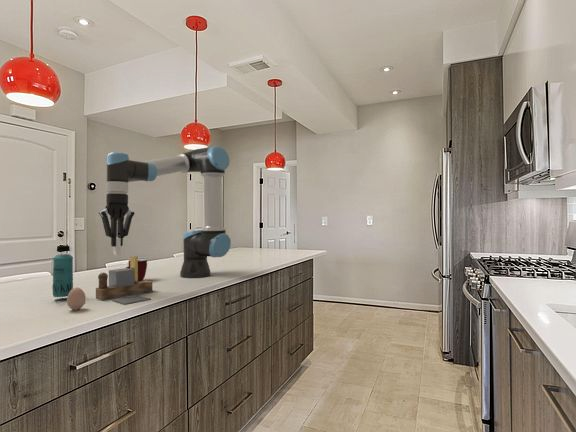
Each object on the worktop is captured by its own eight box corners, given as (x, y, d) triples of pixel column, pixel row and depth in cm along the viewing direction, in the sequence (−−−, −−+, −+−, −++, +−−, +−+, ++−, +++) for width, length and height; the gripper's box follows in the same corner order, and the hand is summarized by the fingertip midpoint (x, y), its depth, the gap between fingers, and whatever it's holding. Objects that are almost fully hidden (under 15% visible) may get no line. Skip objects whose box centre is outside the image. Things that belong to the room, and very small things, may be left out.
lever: (132, 282, 144) (132, 255, 144) (138, 283, 142) (138, 256, 142) (129, 282, 144) (129, 256, 144) (135, 283, 141) (135, 256, 141)
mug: (131, 284, 162) (131, 262, 162) (120, 282, 166) (119, 261, 166) (150, 280, 171) (150, 259, 171) (139, 279, 175) (139, 258, 175)
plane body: (145, 289, 149) (145, 266, 149) (152, 291, 146) (152, 267, 146) (95, 298, 134) (95, 272, 134) (101, 300, 130) (101, 273, 130)
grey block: (126, 283, 143) (126, 268, 143) (134, 284, 140) (134, 269, 140) (108, 285, 138) (108, 270, 138) (116, 287, 134) (116, 271, 134)
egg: (86, 310, 117) (86, 288, 117) (67, 312, 114) (66, 289, 114) (85, 307, 122) (85, 285, 122) (66, 309, 119) (66, 287, 119)
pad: (138, 296, 138) (138, 295, 138) (150, 299, 132) (150, 298, 132) (111, 301, 130) (111, 299, 130) (124, 304, 124) (124, 303, 124)
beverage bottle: (54, 298, 134) (54, 245, 134) (74, 296, 137) (74, 244, 137) (50, 302, 128) (50, 246, 128) (72, 300, 131) (72, 245, 131)
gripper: (129, 194, 145) (128, 253, 145) (95, 192, 135) (94, 255, 135) (138, 194, 140) (138, 254, 140) (104, 192, 130) (103, 257, 130)
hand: (116, 255), depth 137 cm, fingers closed
